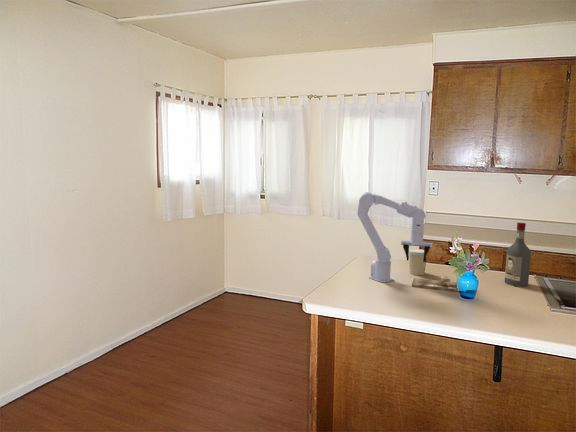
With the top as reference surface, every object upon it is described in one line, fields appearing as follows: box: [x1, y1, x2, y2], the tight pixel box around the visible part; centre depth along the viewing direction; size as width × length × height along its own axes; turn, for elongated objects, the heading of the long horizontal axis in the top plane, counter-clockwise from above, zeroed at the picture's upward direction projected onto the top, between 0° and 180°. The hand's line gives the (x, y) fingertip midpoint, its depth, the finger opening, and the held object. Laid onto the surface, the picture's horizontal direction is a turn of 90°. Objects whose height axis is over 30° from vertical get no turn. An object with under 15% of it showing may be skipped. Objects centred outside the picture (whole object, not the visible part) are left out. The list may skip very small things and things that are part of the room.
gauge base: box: [411, 277, 459, 293], centre depth 207 cm, size 24×12×5 cm, turn 69°
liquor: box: [504, 222, 532, 287], centre depth 211 cm, size 9×9×30 cm
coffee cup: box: [408, 248, 428, 276], centre depth 230 cm, size 9×9×12 cm
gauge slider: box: [440, 275, 451, 286], centre depth 205 cm, size 4×8×3 cm, turn 159°
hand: (415, 260), depth 213 cm, fingers open, 7 cm apart
